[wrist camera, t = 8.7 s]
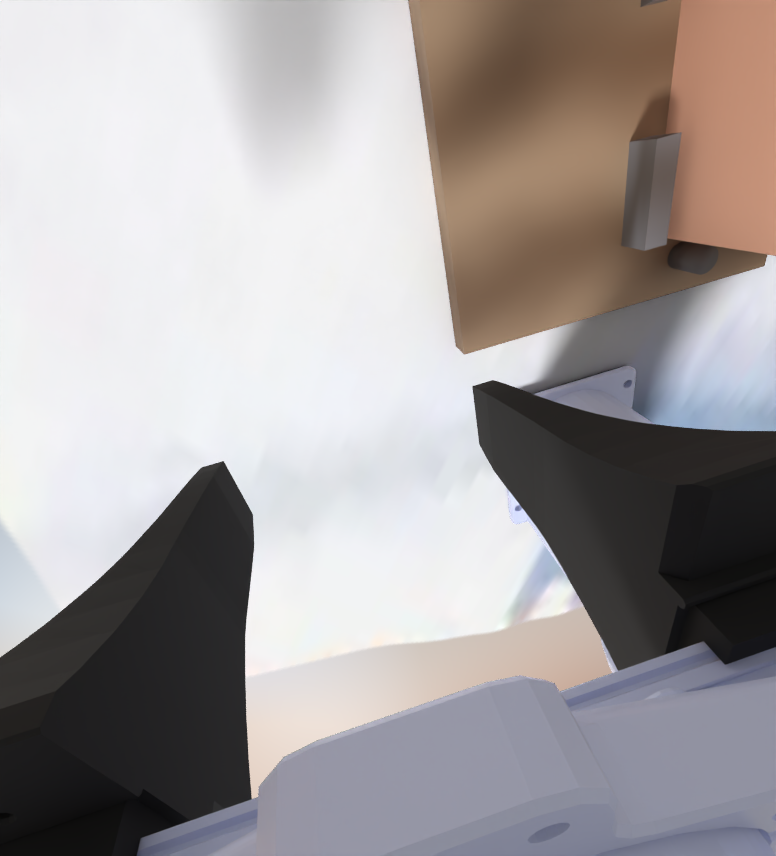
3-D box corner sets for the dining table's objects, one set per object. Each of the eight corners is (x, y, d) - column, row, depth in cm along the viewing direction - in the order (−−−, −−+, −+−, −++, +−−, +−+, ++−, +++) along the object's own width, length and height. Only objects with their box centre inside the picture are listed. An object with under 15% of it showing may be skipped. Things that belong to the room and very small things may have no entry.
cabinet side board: (742, 261, 22) (794, 271, 20) (456, 345, 21) (476, 366, 19) (888, -361, 12) (1022, -481, 10) (373, -257, 12) (394, -363, 9)
